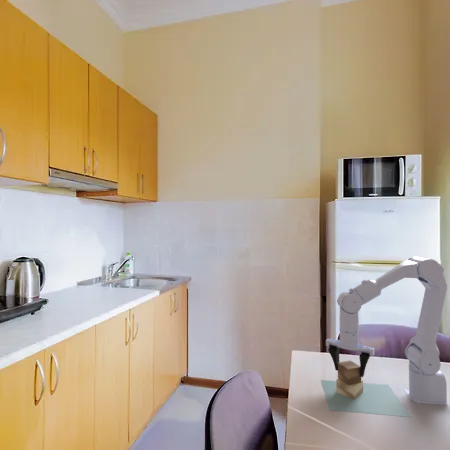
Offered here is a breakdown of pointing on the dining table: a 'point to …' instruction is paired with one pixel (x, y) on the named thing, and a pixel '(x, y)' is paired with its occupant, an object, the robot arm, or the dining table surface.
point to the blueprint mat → (365, 400)
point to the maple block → (349, 389)
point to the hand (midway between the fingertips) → (349, 372)
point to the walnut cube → (349, 372)
